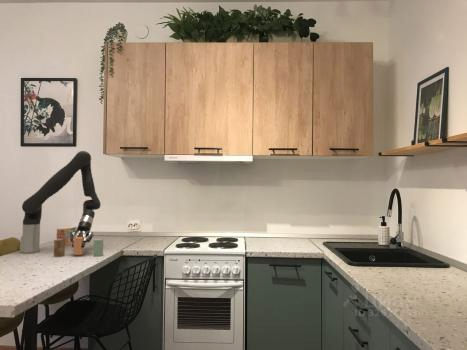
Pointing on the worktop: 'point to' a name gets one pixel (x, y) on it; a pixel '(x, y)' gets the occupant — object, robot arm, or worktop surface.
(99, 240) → the sage green block
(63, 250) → the walnut block
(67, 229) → the stack of blocks
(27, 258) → the worktop surface
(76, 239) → the terracotta block
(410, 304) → the worktop surface
